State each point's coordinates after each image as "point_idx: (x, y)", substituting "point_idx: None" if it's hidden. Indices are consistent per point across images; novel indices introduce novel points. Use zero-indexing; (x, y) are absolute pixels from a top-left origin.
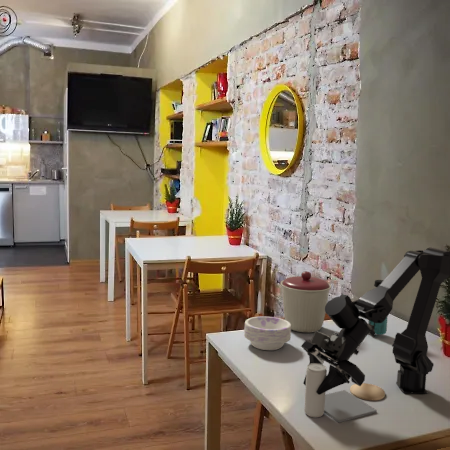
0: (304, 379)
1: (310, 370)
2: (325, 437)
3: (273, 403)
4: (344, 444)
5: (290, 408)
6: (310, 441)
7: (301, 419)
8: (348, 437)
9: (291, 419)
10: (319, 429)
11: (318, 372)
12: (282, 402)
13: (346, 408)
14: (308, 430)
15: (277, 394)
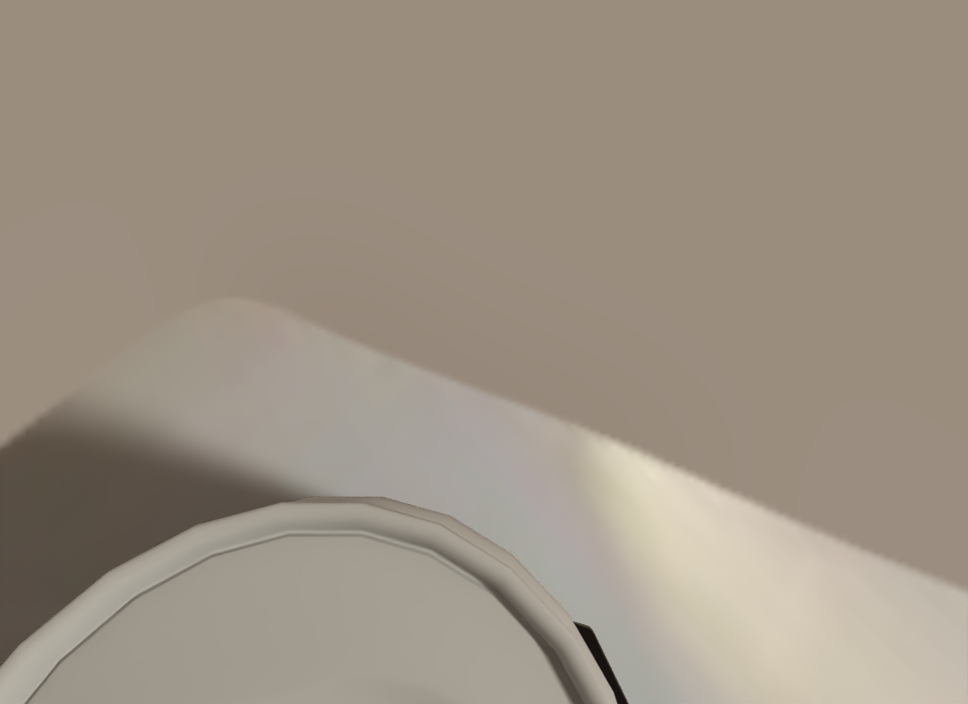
0: (612, 673)
1: (365, 528)
2: (188, 402)
3: (732, 495)
4: (42, 427)
5: (602, 539)
6: (246, 303)
7: (438, 468)
8: (39, 528)
9: (485, 414)
10: (267, 455)
11: (100, 624)
12: (712, 568)
13: None
14: (319, 388)
15: (856, 658)
